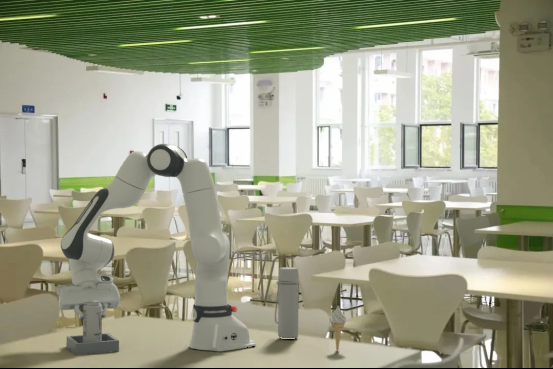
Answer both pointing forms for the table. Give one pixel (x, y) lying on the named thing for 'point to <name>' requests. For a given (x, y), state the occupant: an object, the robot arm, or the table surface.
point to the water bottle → (287, 302)
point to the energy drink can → (92, 321)
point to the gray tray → (92, 345)
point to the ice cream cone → (337, 324)
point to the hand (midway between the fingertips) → (92, 317)
